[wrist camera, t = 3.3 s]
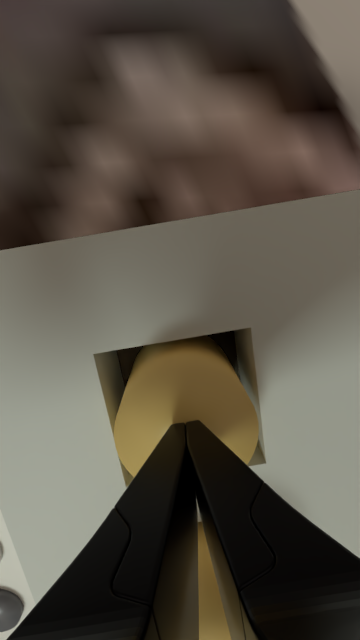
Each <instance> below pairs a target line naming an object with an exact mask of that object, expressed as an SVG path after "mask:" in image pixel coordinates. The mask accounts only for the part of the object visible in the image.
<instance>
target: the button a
mask: <svg viewBox="0 0 360 640" xmlns="http://www.w3.org/2000/svg"><path fill="white" fill-rule="evenodd" d="M194 420H200V421H201V422H202V423H203V424H204V425H205V426H206V427H207V428H208V429H209V430H210V431H212V432H213V433H214V434H215V435H216V436H217V437H218V438H219V439H220V440H221V441H222V442H223V443H224V444H225V445H226V446H227V447H228V448H229V449H231V450H232V451H233V452H234V453H235V454H236V455H237V456H238V457H239V458H240V459H241V460H242V461H243V462H244V463H245V464H246V465H247V464H248V463H249V461H250V459H251V458H252V456H253V454H254V451H255V449H256V445H257V442H258V435H259V423H258V418H257V413H256V411H255V408H254V405H253V404H252V402H251V400H250V398H249V396H248V394H247V392H246V391H245V389H244V387H243V385H242V383H241V382H240V380H239V378H238V376H237V374H236V373H235V371H234V369H233V367H232V365H231V364H230V362H229V360H228V358H227V356H226V355H225V353H224V351H223V350H222V348H221V347H220V346H219V345H218V344H217V343H216V342H215V341H214V340H212V339H211V338H210V337H208V336H206V335H203V336H197V337H191V338H185V339H179V340H173V341H167V342H161V343H155V344H150V345H144V346H143V348H142V349H141V350H140V351H139V353H138V355H137V356H136V359H135V361H134V364H133V367H132V370H131V373H130V376H129V379H128V382H127V385H126V388H125V391H124V394H123V397H122V401H121V404H120V407H119V410H118V413H117V416H116V420H115V426H114V441H115V447H116V450H117V453H118V456H119V458H120V460H121V462H122V463H123V465H124V466H125V468H126V469H127V470H128V472H129V473H130V474H131V475H132V476H133V477H135V476H136V474H137V473H138V471H139V470H140V468H141V467H142V466H143V464H144V463H145V461H146V460H147V458H148V457H149V455H150V454H151V453H152V451H153V450H154V448H155V447H156V445H157V444H158V443H159V441H160V440H161V438H162V437H163V435H164V434H165V433H166V431H167V430H168V428H169V427H170V425H172V424H176V423H185V425H186V422H188V421H194Z"/></svg>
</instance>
